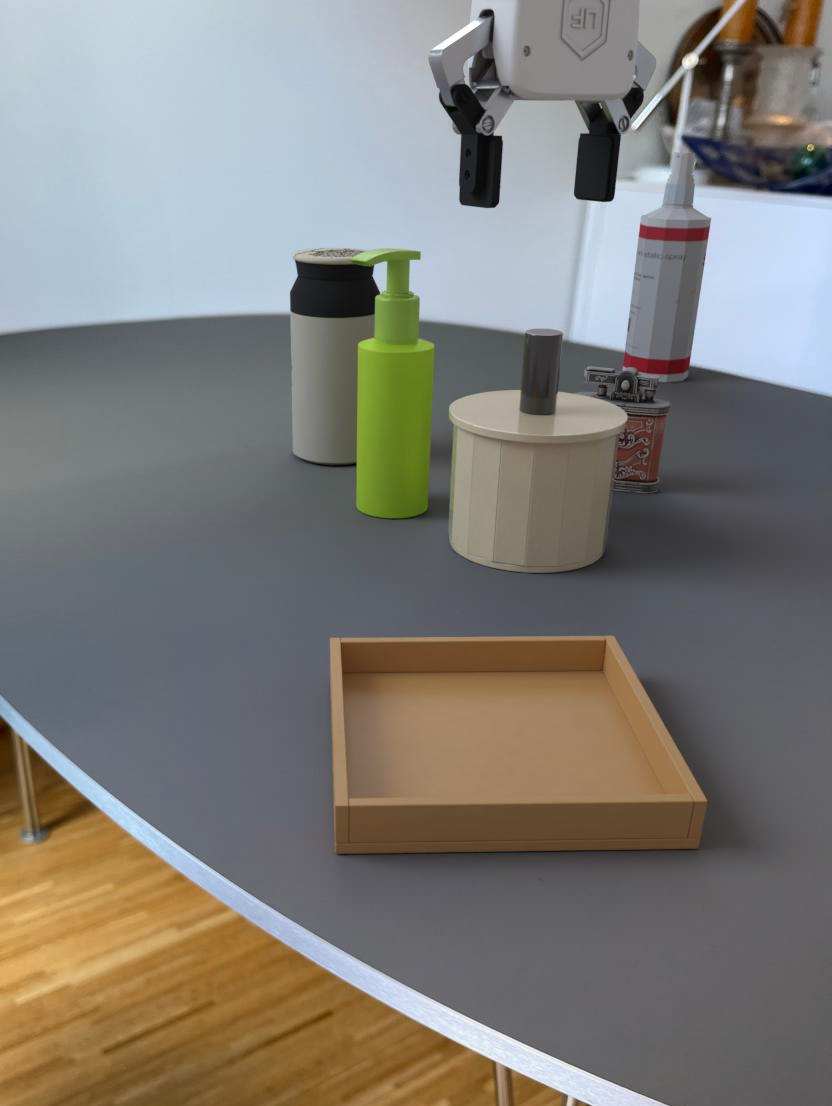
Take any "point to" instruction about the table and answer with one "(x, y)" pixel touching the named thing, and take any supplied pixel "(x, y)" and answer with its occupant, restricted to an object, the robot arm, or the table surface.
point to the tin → (530, 502)
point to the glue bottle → (668, 280)
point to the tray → (502, 749)
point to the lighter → (633, 425)
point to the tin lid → (539, 403)
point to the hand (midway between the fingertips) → (537, 203)
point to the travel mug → (328, 351)
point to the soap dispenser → (394, 398)
